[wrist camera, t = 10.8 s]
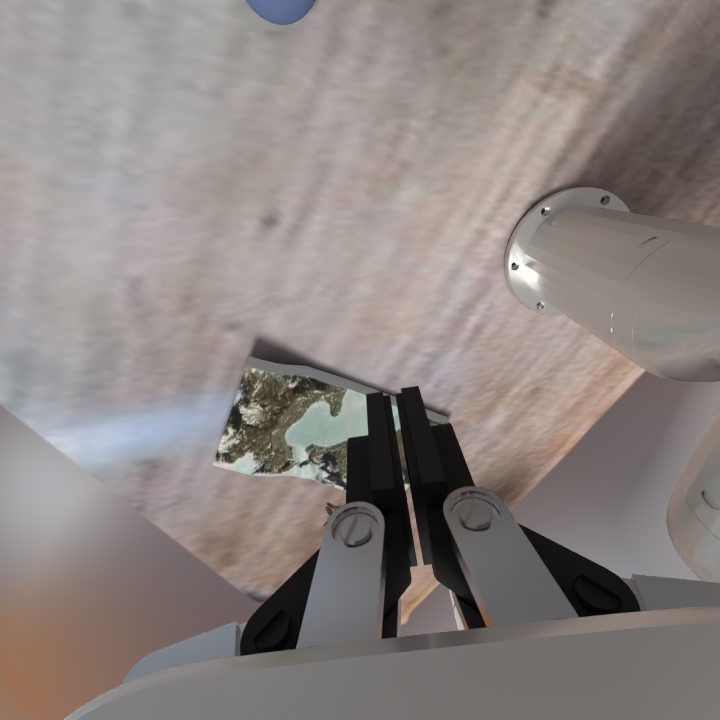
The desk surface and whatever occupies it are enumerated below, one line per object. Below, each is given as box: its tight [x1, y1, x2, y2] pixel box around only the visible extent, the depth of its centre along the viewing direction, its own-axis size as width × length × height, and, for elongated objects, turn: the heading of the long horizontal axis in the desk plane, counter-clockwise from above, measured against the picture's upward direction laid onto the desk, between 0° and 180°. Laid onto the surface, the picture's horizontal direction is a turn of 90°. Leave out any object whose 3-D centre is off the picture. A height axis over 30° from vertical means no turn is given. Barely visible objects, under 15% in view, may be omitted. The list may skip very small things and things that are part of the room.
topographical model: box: [213, 356, 449, 491], centre depth 47 cm, size 26×15×5 cm, turn 66°
